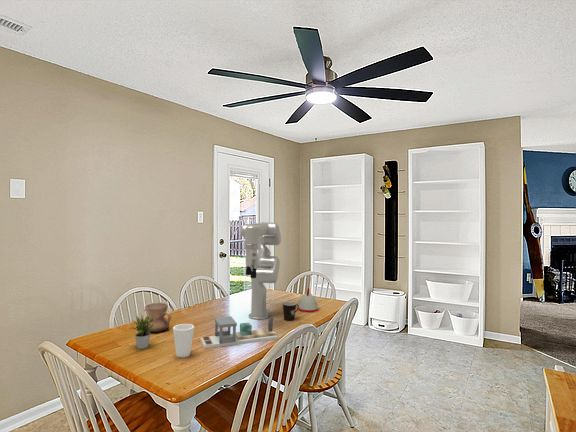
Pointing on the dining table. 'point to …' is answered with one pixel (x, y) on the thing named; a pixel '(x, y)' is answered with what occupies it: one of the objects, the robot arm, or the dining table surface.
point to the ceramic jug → (160, 311)
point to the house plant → (143, 331)
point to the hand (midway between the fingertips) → (250, 276)
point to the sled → (249, 333)
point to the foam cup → (183, 339)
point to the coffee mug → (289, 310)
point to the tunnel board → (229, 335)
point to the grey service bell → (308, 303)
